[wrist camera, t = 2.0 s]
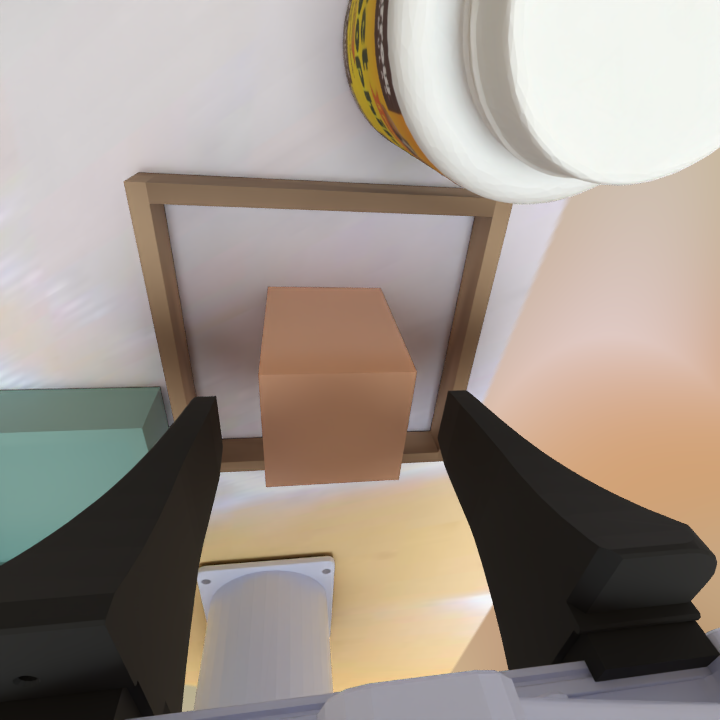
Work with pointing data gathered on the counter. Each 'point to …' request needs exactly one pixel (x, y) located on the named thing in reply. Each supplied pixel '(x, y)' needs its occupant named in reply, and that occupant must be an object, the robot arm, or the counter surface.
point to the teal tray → (67, 454)
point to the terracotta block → (332, 387)
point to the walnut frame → (177, 189)
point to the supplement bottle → (539, 89)
